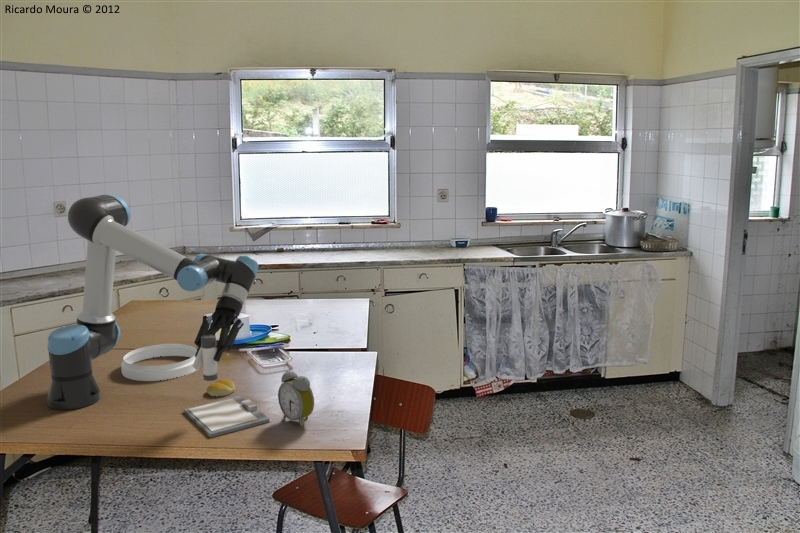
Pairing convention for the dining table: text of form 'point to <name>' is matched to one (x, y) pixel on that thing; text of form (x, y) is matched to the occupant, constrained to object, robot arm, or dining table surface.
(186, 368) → the white hollow ring
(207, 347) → the white grey cylinder
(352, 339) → the dining table surface
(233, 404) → the clipboard
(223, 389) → the bread roll
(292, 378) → the alarm clock
